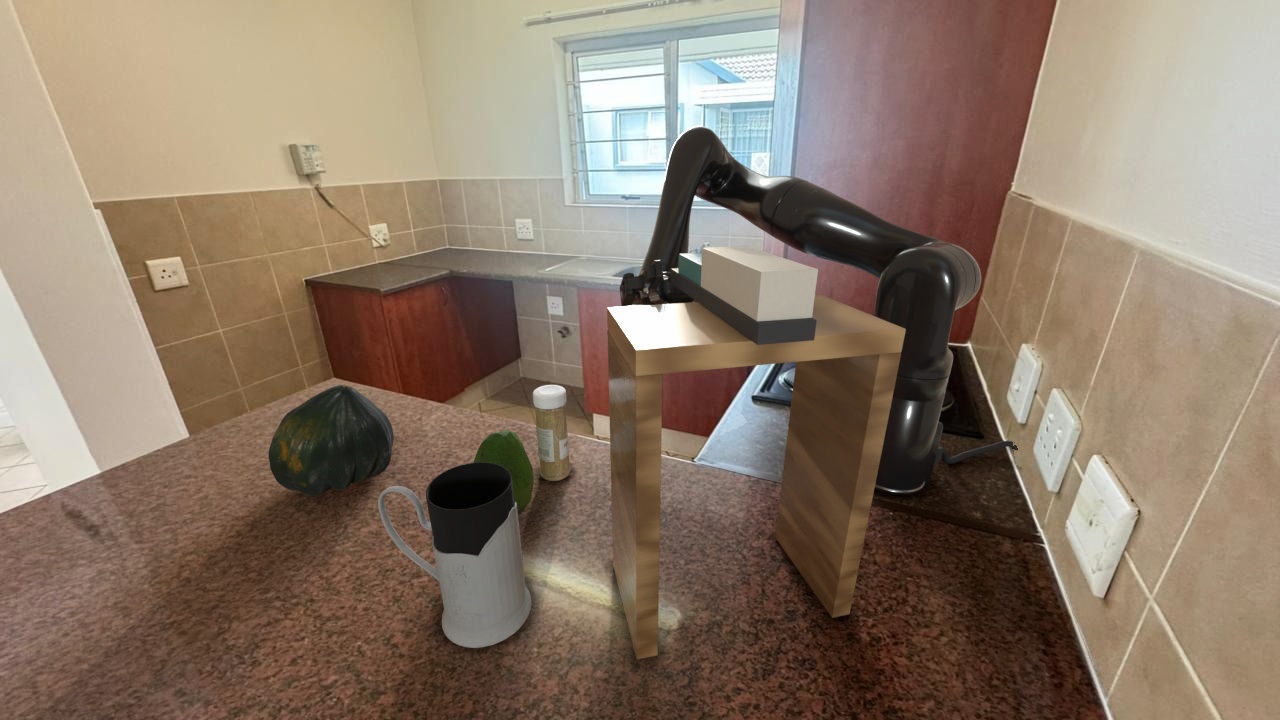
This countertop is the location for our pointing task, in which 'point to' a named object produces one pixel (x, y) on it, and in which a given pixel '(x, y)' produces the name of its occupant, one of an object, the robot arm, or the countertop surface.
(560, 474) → the spice jar
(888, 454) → the robot arm
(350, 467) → the squash
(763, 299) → the beige green block bar
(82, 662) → the countertop surface
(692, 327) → the wooden stand
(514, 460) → the avocado
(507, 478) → the glass holder
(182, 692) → the countertop surface
